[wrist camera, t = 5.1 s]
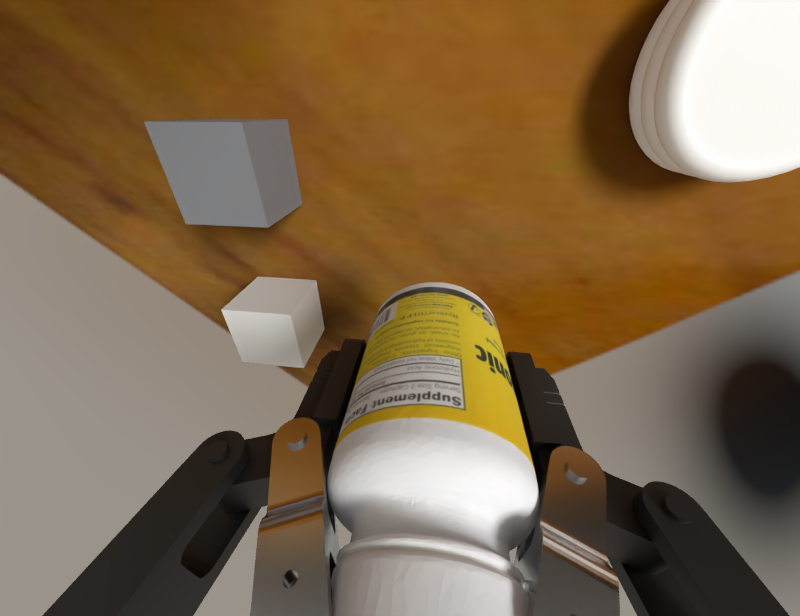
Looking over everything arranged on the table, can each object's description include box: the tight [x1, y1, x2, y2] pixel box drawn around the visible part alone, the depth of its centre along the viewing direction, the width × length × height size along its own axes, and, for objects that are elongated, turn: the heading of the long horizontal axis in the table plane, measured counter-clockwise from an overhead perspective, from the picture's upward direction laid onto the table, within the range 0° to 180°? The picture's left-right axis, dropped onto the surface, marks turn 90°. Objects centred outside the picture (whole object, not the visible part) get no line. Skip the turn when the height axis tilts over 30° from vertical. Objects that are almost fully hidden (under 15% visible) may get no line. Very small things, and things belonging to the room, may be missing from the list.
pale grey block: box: [221, 277, 325, 368], centre depth 24 cm, size 5×5×5 cm
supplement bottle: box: [327, 282, 540, 616], centre depth 9 cm, size 5×5×10 cm
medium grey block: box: [144, 119, 302, 228], centre depth 17 cm, size 5×5×5 cm
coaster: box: [629, 0, 800, 182], centre depth 13 cm, size 10×10×4 cm
